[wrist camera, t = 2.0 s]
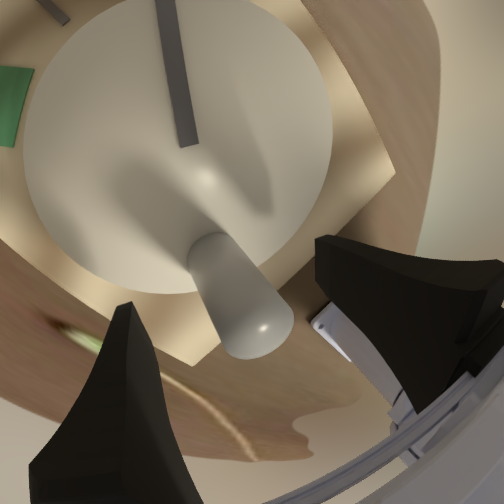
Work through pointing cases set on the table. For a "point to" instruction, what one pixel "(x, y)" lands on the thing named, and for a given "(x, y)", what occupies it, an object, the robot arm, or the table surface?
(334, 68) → the dial board
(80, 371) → the table surface
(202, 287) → the tuning knob
